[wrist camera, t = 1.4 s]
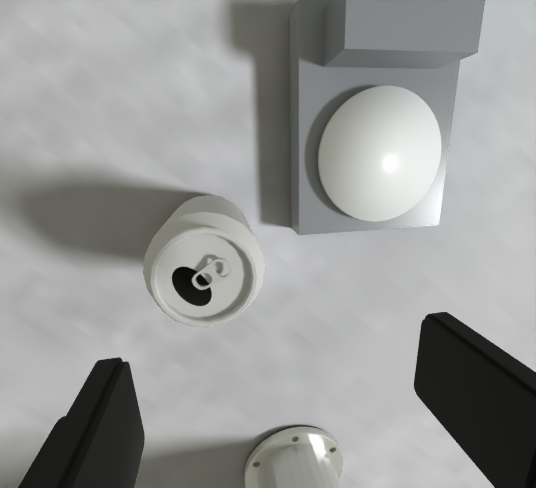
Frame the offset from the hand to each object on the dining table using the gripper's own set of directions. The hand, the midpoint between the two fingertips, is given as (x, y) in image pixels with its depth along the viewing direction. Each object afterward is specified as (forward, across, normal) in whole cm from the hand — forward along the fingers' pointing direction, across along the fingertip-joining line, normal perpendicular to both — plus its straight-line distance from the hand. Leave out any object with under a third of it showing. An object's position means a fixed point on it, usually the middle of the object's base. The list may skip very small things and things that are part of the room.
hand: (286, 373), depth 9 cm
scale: (+21, -12, -8) cm, 25 cm away
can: (+21, +3, +1) cm, 21 cm away
